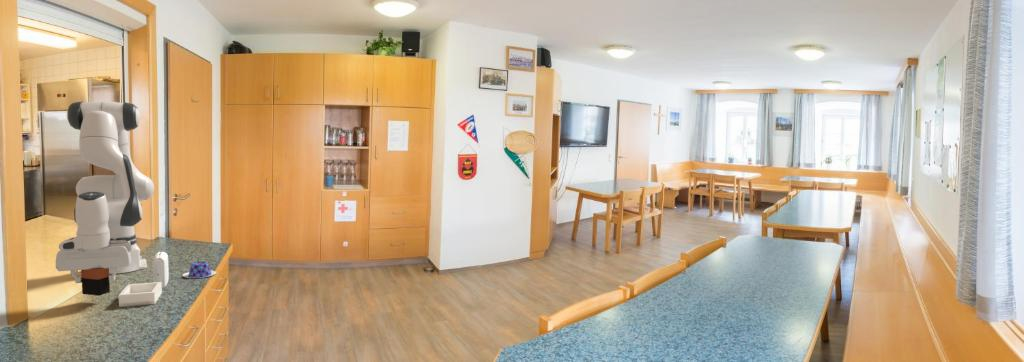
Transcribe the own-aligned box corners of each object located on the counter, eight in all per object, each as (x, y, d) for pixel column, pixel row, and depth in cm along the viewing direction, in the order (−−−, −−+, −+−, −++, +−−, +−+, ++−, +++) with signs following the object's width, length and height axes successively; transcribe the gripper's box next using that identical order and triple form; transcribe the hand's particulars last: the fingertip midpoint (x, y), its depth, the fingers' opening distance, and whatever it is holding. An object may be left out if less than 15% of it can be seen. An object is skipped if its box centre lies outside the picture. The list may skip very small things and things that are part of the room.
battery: (99, 296, 181) (97, 266, 180) (81, 294, 182) (80, 265, 181) (110, 292, 185) (109, 263, 184) (93, 290, 186) (92, 262, 185)
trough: (128, 295, 192) (128, 284, 191) (161, 292, 196) (161, 281, 195) (119, 307, 180) (118, 295, 179) (154, 303, 184) (154, 292, 183)
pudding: (184, 281, 211) (184, 268, 211) (180, 274, 221) (180, 261, 220) (219, 277, 218) (218, 264, 218) (213, 270, 228) (213, 258, 227)
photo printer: (165, 287, 201) (164, 255, 200) (152, 289, 200) (150, 255, 198) (169, 280, 211) (169, 249, 210) (156, 281, 209) (155, 249, 208)
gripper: (133, 237, 189) (134, 276, 190) (59, 240, 180) (61, 281, 182) (128, 241, 183) (130, 281, 184) (52, 245, 175) (54, 286, 176)
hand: (95, 281), depth 183 cm, fingers closed on battery, 8 cm apart
